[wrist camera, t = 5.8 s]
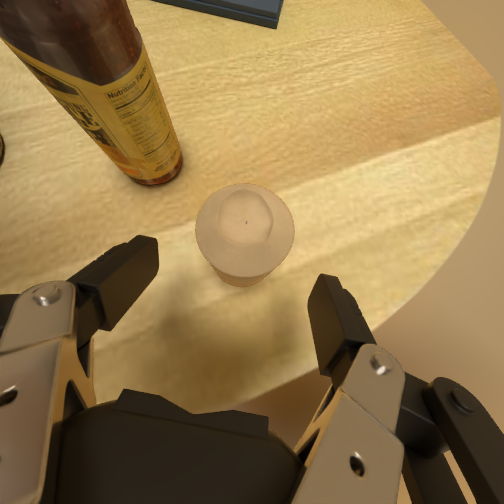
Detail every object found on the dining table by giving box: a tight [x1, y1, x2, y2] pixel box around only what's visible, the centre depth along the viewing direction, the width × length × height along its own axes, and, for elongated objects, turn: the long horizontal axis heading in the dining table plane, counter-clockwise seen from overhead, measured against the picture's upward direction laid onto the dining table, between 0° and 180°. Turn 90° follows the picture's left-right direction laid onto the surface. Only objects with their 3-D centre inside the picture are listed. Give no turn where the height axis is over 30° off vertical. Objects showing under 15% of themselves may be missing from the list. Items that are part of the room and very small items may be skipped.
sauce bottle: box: [0, 0, 182, 185], centre depth 12 cm, size 6×6×20 cm
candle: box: [195, 183, 295, 287], centre depth 15 cm, size 6×6×10 cm
